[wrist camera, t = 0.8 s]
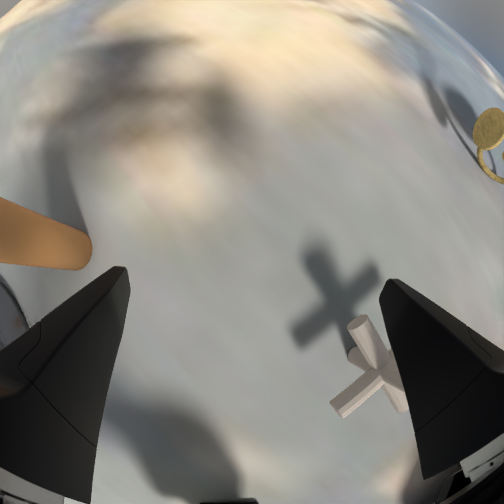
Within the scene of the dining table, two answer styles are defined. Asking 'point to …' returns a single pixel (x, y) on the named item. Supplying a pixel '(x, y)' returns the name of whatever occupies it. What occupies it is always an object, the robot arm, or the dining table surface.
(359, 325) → the pipe connector
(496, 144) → the wall sconce
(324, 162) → the dining table surface
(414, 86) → the dining table surface
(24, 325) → the rosette plate
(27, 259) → the pin
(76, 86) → the dining table surface
